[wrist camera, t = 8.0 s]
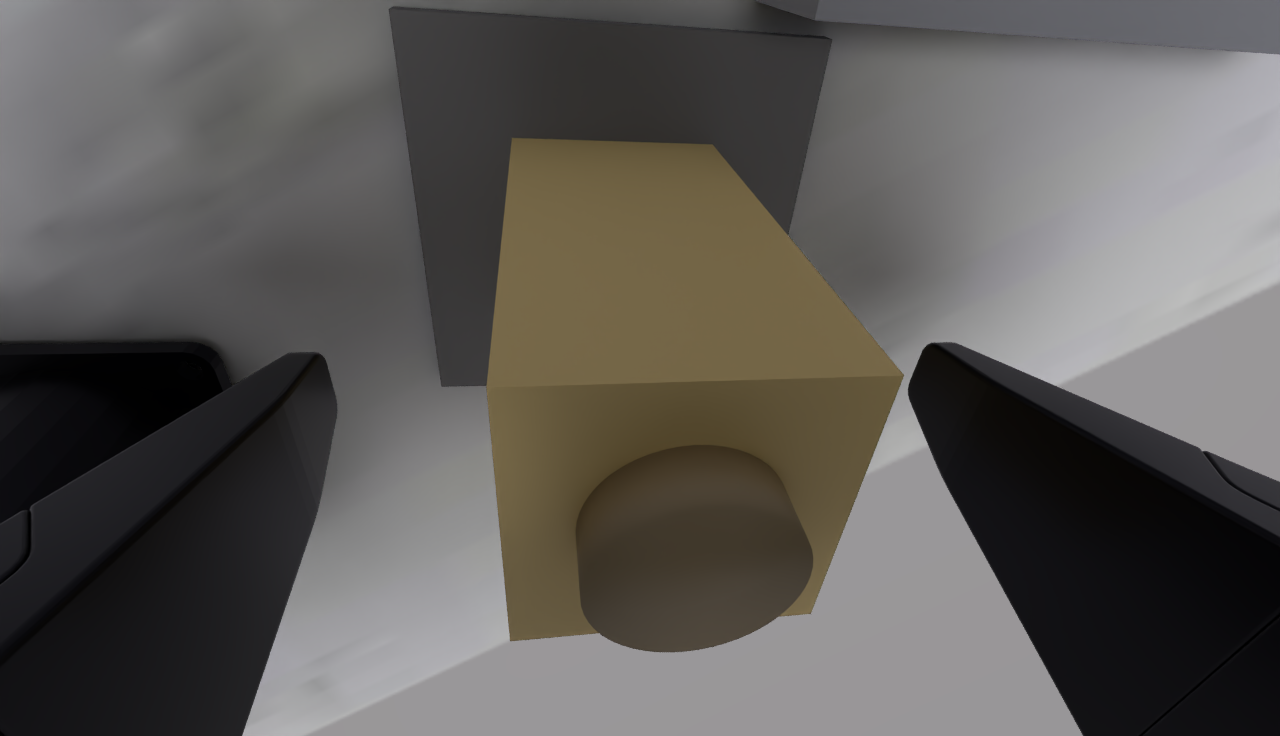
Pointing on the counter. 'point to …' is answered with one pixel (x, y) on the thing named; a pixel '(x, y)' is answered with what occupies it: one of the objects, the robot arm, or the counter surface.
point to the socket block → (1072, 19)
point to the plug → (667, 400)
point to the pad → (577, 127)
